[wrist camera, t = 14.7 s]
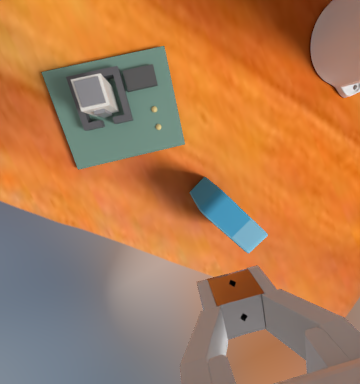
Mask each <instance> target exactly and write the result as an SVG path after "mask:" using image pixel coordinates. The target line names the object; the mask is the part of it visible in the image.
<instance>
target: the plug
mask: <svg viewBox="0 0 360 384" xmlns="http://www.w3.org/2000/svg"><path fill="white" fill-rule="evenodd" d="M71 83H72V86H73V89H74V91H75V94H76V97H77V100H78V103H79V106H80V109H81V112H84V113H87V114H90V115H93V116H96V117H97V116H100V117H103V118H105V117H110V116H113V115H112V113H115V112H119V109H118V105H117V102H116V98H115V95H114V91H113V88H112V86H111V85H110V83H109V82H108V81H107V80H106V79H105V78H104V77H103V76H102V74H101V73H99V74H95V75H90V76H85V77H81V78H76V79H71Z"/></svg>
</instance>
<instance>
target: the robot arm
mask: <svg viewBox="0 0 360 384" xmlns="http://www.w3.org/2000/svg"><path fill="white" fill-rule="evenodd" d="M310 51H311V59H312V63H313V66H314V68H315V70H316V72H317V73H318V75H319V76H320V77H321V78H322V79H323V80H324V81H326V82H327V83H329V84H331V85H333V86H334V87H335V88H336V90H337V91H338V93H339V94H340V95H341V96H342V97H344V98H346V97H349V96H352V95H354V94H356V93H358V92H360V0H332V1H331V2H330V3H329V5H328V6H327V7H326V8H325V9H324V10H323V12H322V13H321V15H320V16H319V18H318V20H317V22H316V24H315V26H314V29H313V33H312V37H311V46H310ZM353 87H354V89H353ZM197 286H198V290H199V294H200V299H201V302H202V307H203V311H201V312H200V315H199V317H198V320H197V323H196V325H195V328H194V330H193V333H192V335H191V338H190V341H189V343H188V346H187V348H186V351H185V354H184V356H183V359H182V361H181V364H180V372H181V383H182V384H236V382H235V379H234V376H233V373H232V370H231V367H230V364H229V361H228V358H227V357H226V351H227V345H228V339H232V338H235V337H237V336H241V335H244V334H247V333H251V332H255V331H259V330H263V329H266V330H267V331H269V332H270V333H271V334H273V335H274V336H275V337H276V338H278V339H279V340H280V341H282V342H283V343H284V344H285V345H287V346H288V347H289V348H291V349H292V350H293V351H295V352H296V353H297V354H298V355H300V356H301V357H302V358H304V359H305V360H306V365H307V374H304V375H301V376H298V377H294V378H291V379H288V380H284V381H281V382H278V383H274V384H360V332H359V331H358V330H357V329H356V328H354V326H353V325H352V324H351V323H350V322H348V320H346V319H345V318H344V317H342V316H339V315H337V314H335V313H333V312H330V311H328V310H326V309H324V308H322V307H319V306H317V305H315V304H313V303H310V302H308V301H306V300H304V299H302V298H299V297H297V296H295V295H293V294H290V293H288V292H286V291H284V290H282V289H279V290H277V289H276V287H275V286H274V285H273V284H272V282H271V281H270V280H269V279H268V277H267V276H266V275H265V274H264V272H263V271H262V270H261V269H260V267H259V266H253V267H250V268H247V269H244V270H240V271H236V272H233V273H229V274H226V275H221V276H217V277H213V278H210V279H206V280H202V281H198V282H197Z"/></svg>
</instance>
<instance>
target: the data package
mask: <svg viewBox="0 0 360 384" xmlns="http://www.w3.org/2000/svg"><path fill="white" fill-rule="evenodd" d="M190 195H191V197H192V198H193V200H194V202H195V204H196V205H197V207H198V209H199V210H200V212H201V213H202V214H203V215H204V216H205V217H206V218H207V219H209V220H210V221H211V222H212V223H213V224H214V225H215V226H217V227H218V228H219V229H220V230H221V231H222V232H223V233H225V234H226V235H227V236H228V237H229V238H230V239H231V240H233V241H234V242H235V243H236V244H237V245H238V246H239V247H241V248H242V249H243V250H244V251H245V252H247V253H250V252H251V251H252V250H253V249H254V248H255V247H256V246H257V245H258V244H259V243H260V242H261V241H263V240H264V239H265V238H266V237H267V236H268V234H267V233H266V232H265V231H264V230H263V229H262V228H261V227H260V226H259V225H258V224H257V223H256V222H255V221H254V220H253V219H252V218H250V217H249V216H248V215H247V214H246V213H245V212H244V211H243V210H242V209H241V208H240V207H239V206H238V205H237V204H236V203H235V202H234V201H233V200H232V199H231V198H229V197H228V196H227V195H226V194H225V193H224V192H223V191H222V190H221V189H220V188H218V187H217V186H216V185H215V184H214V183H212V182H211V181H210V180H209V179H208V178H206V177H204V178H203V179H202V180H201V181H200V182H199V183H198V184H197V185H196V186H195V187H194V188H193V189H192V190H191V191H190Z"/></svg>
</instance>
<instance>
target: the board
mask: <svg viewBox="0 0 360 384" xmlns="http://www.w3.org/2000/svg"><path fill="white" fill-rule="evenodd" d="M99 73H101V74H102V76H103V77H104V78H105V79H106V80H107V81H108V82H109V83H110V85H111V86H112V88H113V91H114V95H115V98H116V102H117V105H118V109H119V112H115V113H112V115H113V116H110V117H105V118H103V117H100V116H97V117H96V116H93V115H90V114H87V113H84V112H81V109H80V106H79V103H78V100H77V97H76V94H75V91H74V89H73V86H72V83H71V79H76V78H81V77H85V76H90V75H95V74H99ZM42 75H43V78H44V80H45V83H46V86H47V88H48V91H49V94H50V96H51V99H52V102H53V104H54V107H55V110H56V112H57V115H58V117H59V120H60V123H61V125H62V128H63V131H64V133H65V136H66V139H67V141H68V144H69V147H70V149H71V152H72V155H73V157H74V160H75V163H76V165H77V168H78V170H79V169H83V168H87V167H91V166H95V165H100V164H104V163H108V162H112V161H117V160H121V159H125V158H129V157H133V156H138V155H142V154H146V153H150V152H154V151H159V150H163V149H167V148H171V147H176V146H180V145H184V144H185V142H184V137H183V133H182V128H181V123H180V119H179V114H178V109H177V104H176V100H175V95H174V90H173V85H172V81H171V76H170V71H169V67H168V62H167V57H166V52H165V48H164V46H161V47H157V48H152V49H147V50H143V51H138V52H133V53H129V54H124V55H119V56H115V57H110V58H105V59H101V60H96V61H91V62H87V63H82V64H77V65H73V66H68V67H63V68H59V69H54V70H49V71H45V72H42Z"/></svg>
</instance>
